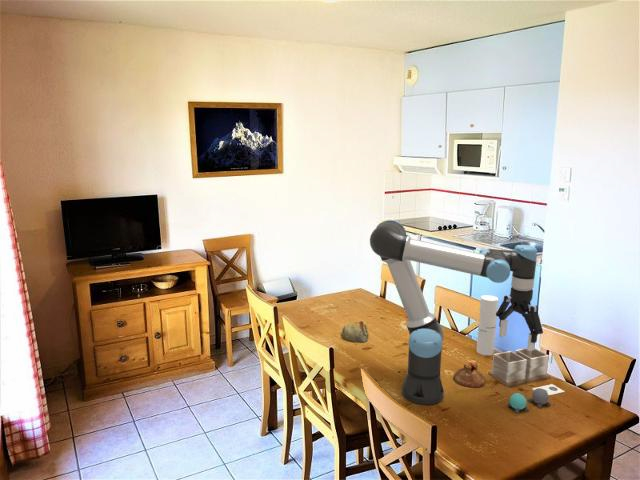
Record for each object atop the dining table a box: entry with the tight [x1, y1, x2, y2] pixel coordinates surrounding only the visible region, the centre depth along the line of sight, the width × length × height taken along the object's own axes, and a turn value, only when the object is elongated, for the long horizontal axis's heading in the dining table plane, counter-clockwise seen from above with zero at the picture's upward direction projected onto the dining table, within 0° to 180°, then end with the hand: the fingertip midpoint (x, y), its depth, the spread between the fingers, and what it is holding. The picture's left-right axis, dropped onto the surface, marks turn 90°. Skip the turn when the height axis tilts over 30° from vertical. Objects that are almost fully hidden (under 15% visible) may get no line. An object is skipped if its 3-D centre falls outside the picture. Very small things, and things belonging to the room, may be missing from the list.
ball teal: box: [509, 392, 528, 411], centre depth 176 cm, size 6×6×6 cm
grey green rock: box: [341, 320, 370, 343], centre depth 236 cm, size 14×12×8 cm
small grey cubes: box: [505, 397, 552, 415], centre depth 178 cm, size 15×5×1 cm, turn 111°
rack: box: [488, 347, 551, 388], centre depth 199 cm, size 21×11×9 cm, turn 111°
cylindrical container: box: [476, 294, 499, 356], centre depth 219 cm, size 7×7×25 cm
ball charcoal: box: [531, 388, 550, 405], centre depth 180 cm, size 6×6×6 cm
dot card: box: [531, 383, 565, 396], centre depth 189 cm, size 10×6×1 cm, turn 111°
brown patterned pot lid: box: [453, 361, 486, 388], centre depth 196 cm, size 12×12×7 cm
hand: (516, 343), depth 186 cm, fingers open, 13 cm apart
